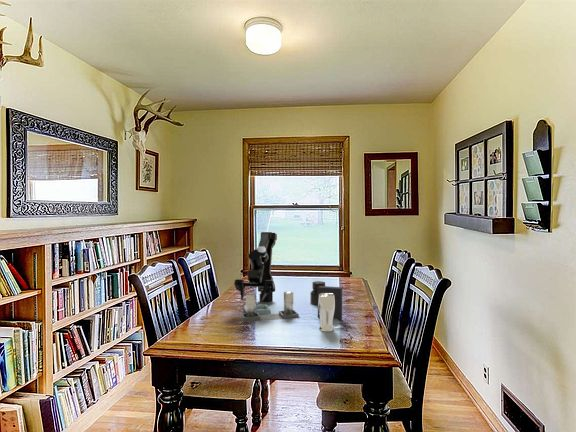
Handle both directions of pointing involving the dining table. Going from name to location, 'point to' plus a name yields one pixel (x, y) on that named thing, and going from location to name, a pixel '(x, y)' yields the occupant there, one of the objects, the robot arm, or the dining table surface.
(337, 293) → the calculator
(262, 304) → the tote
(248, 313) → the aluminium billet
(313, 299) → the ink bottle
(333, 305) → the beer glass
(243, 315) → the tray
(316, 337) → the dining table surface
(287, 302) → the billet
